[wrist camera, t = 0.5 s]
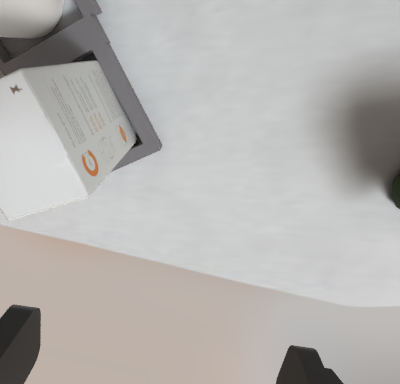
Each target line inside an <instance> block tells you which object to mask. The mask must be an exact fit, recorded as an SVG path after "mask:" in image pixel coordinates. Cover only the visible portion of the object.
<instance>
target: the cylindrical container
mask: <svg viewBox="0 0 400 384" xmlns="http://www.w3.org/2000/svg"><path fill="white" fill-rule="evenodd" d="M63 6H64V0H0V37H10V38H30V39H34V38H40V37H42V36H45V35H47V34H48V33H50V32H51V31H52V30H53V29H54V28H55V27H56V26H57V24H58V22H59V20H60V18H61V15H62V11H63Z"/></svg>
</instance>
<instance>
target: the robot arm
mask: <svg viewBox="0 0 400 384" xmlns="http://www.w3.org/2000/svg"><path fill="white" fill-rule="evenodd" d="M40 320H41V313H40V309H39V308H35V307H27V306H21V305H12V306H11V307H9V309H8V310H7V311H6V312H5V314H4V315H3V316H2V317H1V318H0V384H24V382H25V381H26V379H27V377H28V375H29V374H30V372H31V370H32V368H33V366H34V364H35V362H36V359H37V357H38V353H39V350H40ZM276 384H343V383H342V382H341V380H340V379H339V378H338V377H337V375H336V374H335V373H334V372H333V370H331V369H328V368H324V366H323V364H322V361H321V359H320V357H319V354H318V352H317V351H316V350H315V349H313V348H306V347H300V346H293V345H292V346H290V347H289V349H288V351H287V353H286V356H285V359H284V361H283V364H282V367H281V369H280V372H279V375H278V377H277V381H276Z"/></svg>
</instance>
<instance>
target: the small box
mask: <svg viewBox="0 0 400 384" xmlns="http://www.w3.org/2000/svg"><path fill="white" fill-rule="evenodd" d="M136 141H137V138H136V135H135V133H134V131H133V128H132V126H131V124H130V121H129V119H128V117H127V114H126V112H125V110H124V108H123V106H122V104H121V103H120V101H119V99H118V97H117V95H116V93H115V91H114V90H113V88H112V86H111V84H110V82H109V80H108V79H107V77H106V75H105V73H104V71H103V69H102V68H101V66H100V64H99V62H98V60H94V61H82V62H73V63H66V64H58V65H49V66H40V67H31V68H22V69H19V70H16V71H14V72H12V73H10V74H8V75H6V76H3V77H1V78H0V209H1V211H2V212H3V214H4V215H5V217H6V218H7V220H8V221H11V220H14V219H18V218H21V217H25V216H28V215H32V214H35V213H39V212H42V211H45V210H49V209H52V208H56V207H59V206H63V205H66V204H70V203H73V202H77V201H80V200H84V199H87V198H89V197H90V196H91V194H92V193H93V192H94V191H95V189H96V188H97V187H98V186H99V185H100V183H101V182H102V181H103V180H104V179H105V178H106V176H107V175H108V174H109V173H110V172H111V171H112V169H113V168H114V167H115V166H116V165H117V164H118V162H119V161H120V160H121V159H122V158H123V157H124V155H125V154H126V153H127V152H128V151H129V150H130V148H131V147H132V146H133V145H134V144H135V142H136Z"/></svg>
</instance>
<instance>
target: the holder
mask: <svg viewBox="0 0 400 384" xmlns="http://www.w3.org/2000/svg"><path fill="white" fill-rule="evenodd" d="M75 2H76V4H77V6H78V8H79V10H80V12H81V14H82V16H83V17H84V18H82V19H80V20H78V21H77V22H75V23H73V24H72V25H70V26H68V27H66V28H65V29H63V30H61V31H60V32H58V33H56V34H54V35H53V36H51V37H49V38H47V39H46V40H44V41H42V42H41V43H39V44H37V45H35V46H34V47H32V48H30V49H29V50H27V51H25V52H23V53H22V54H20V55H18V56H17V57H15V58H13V59H11V57H10V56H9V54H8V52H7V51H6V49H5V48H4V46H3V45H2V43H1V42H0V69H1V71H2V72H3V74H4V75H5V76H6V75H8V74H10V73H12V72H14V71H16V70H19V69H22V68H31V67H40V66H49V65H58V64H66V63H73V62H76V61H78V60H80V59H82V58H83V57H85V56H87V55H89V54H91V53H92V52H93V53H94V55H95V57H96V58H97V60H98V62H99V64H100V66H101V68H102V69H103V71H104V73H105V75H106V77H107V79H108V80H109V82H110V84H111V86H112V88H113V90H114V91H115V93H116V95H117V97H118V99H119V101H120V103H121V104H122V106H123V108H124V110H125V112H126V114H127V115H128V117H129V119H130V121H131V123H132V125H133V126H134V128H135V130H136V132H137V134H138V136H139V137H140V139H141V141H142V142H140V143H138V144H136V145H134V146H132V147H131V148H130V150H129V151H128V152H127V153H126V154H125V155H124V157H123V158H122V159H121V160H120V161H119V162H118V164H117V165H116V166H115V167H114V168H113V169H112V171H114V170H116V169H119V168H121V167H123V166H125V165H128V164H130V163H132V162H134V161H137V160H139V159H141V158H143V157H146V156H148V155H150V154H152V153H155V152H157V151H159V150H160V149H161V147H162V144H161V142H160V140H159V138H158V136H157V134H156V132H155V131H154V129H153V127H152V125H151V123H150V121H149V119H148V117H147V115H146V113H145V111H144V109H143V107H142V105H141V104H140V102H139V100H138V98H137V96H136V94H135V92H134V90H133V88H132V86H131V84H130V82H129V80H128V78H127V77H126V75H125V73H124V71H123V69H122V67H121V65H120V63H119V61H118V59H117V57H116V55H115V53H114V52H113V50H112V48H111V46H110V44H109V43H110V41H109V40H108V38H107V36H106V34H105V32H104V30H103V28H102V26H101V24H100V22H99V20H98V18H97V15H98V14H100V13H102V11H101V9H100V7H99V5H98V3H97V1H96V0H75ZM112 171H111V172H112Z"/></svg>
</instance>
